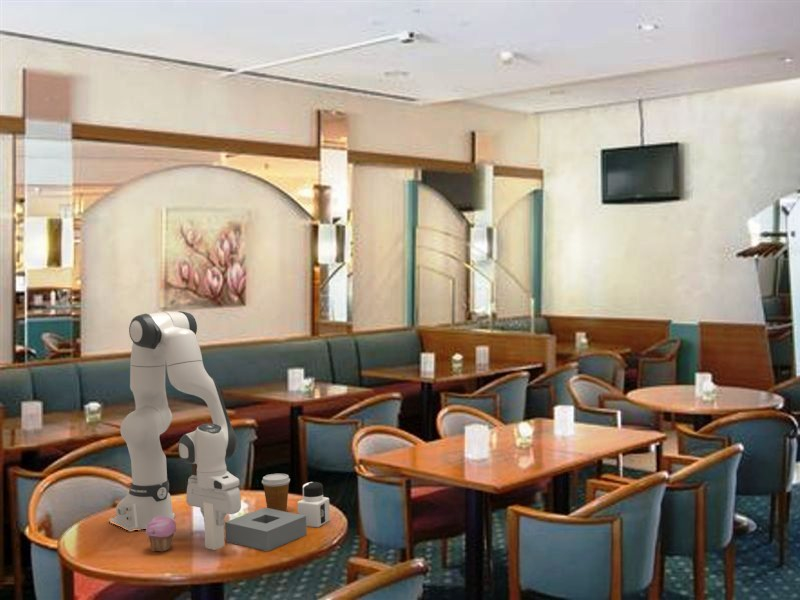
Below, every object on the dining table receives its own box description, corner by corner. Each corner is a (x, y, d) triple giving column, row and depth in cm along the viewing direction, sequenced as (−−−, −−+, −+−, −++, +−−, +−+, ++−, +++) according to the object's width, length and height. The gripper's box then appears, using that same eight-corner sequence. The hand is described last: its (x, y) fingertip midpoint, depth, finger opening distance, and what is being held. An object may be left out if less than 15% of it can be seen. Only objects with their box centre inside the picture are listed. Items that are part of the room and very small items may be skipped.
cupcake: (155, 544, 277) (153, 512, 276) (181, 545, 276) (180, 512, 275) (142, 554, 268) (140, 521, 268) (169, 555, 267) (168, 522, 266)
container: (330, 520, 296) (328, 481, 295) (318, 527, 289) (317, 487, 288) (309, 518, 299) (308, 479, 298) (297, 525, 292) (296, 485, 291)
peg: (205, 547, 273) (203, 502, 272) (215, 543, 276) (213, 498, 275) (214, 550, 270) (212, 503, 270) (224, 546, 274) (222, 500, 273)
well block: (225, 541, 278) (225, 522, 278) (265, 525, 292) (264, 507, 292) (267, 551, 268) (266, 531, 267) (306, 534, 282) (305, 515, 282)
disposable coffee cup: (270, 506, 313) (269, 472, 312) (295, 508, 310) (294, 474, 309) (258, 514, 304) (256, 479, 303) (283, 516, 301) (282, 481, 300)
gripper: (180, 476, 275) (182, 521, 276) (228, 485, 263) (229, 532, 264) (196, 471, 280) (198, 515, 281) (243, 480, 269) (245, 526, 270)
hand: (213, 523), depth 273 cm, fingers closed on peg, 4 cm apart
